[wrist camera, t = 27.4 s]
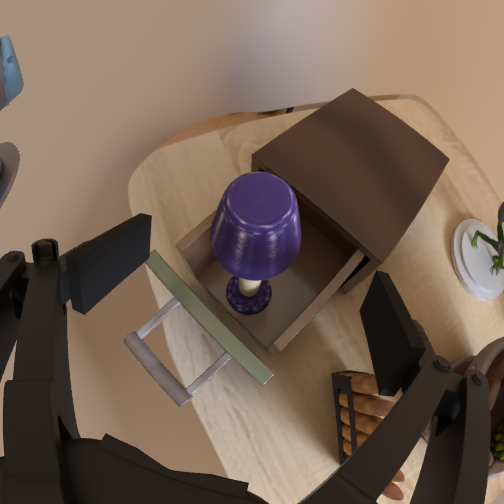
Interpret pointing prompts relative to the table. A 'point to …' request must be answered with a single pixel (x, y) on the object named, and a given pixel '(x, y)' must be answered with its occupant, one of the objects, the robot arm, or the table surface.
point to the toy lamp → (255, 237)
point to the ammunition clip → (360, 416)
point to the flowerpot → (500, 393)
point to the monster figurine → (479, 257)
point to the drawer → (258, 325)
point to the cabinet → (357, 173)
